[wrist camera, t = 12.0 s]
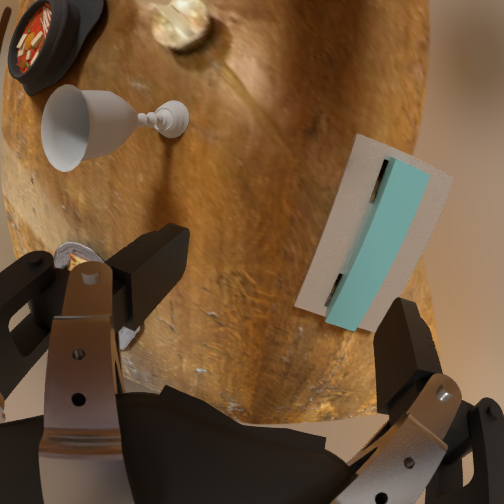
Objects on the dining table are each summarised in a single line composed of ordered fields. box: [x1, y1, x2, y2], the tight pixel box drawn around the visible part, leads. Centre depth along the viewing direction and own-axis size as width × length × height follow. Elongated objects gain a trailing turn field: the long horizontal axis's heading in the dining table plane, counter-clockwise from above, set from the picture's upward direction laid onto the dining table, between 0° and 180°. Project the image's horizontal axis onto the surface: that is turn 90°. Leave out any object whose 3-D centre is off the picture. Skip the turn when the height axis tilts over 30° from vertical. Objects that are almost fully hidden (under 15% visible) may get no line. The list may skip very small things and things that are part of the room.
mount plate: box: [294, 133, 454, 333], centre depth 31 cm, size 22×12×3 cm, turn 166°
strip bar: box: [325, 156, 430, 332], centre depth 30 cm, size 20×4×5 cm, turn 166°
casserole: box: [8, 0, 104, 96], centre depth 27 cm, size 25×19×8 cm
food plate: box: [53, 242, 140, 350], centre depth 50 cm, size 25×23×4 cm
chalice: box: [41, 84, 189, 172], centre depth 25 cm, size 7×7×18 cm
